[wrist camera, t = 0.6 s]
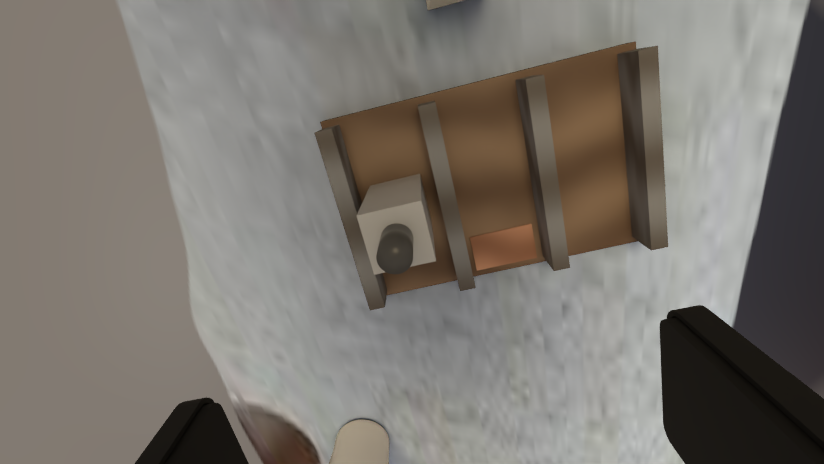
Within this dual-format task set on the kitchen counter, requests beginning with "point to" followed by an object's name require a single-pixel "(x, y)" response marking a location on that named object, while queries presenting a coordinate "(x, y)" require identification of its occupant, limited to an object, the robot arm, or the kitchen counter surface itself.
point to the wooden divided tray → (513, 167)
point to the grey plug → (397, 225)
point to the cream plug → (440, 3)
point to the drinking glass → (361, 444)
